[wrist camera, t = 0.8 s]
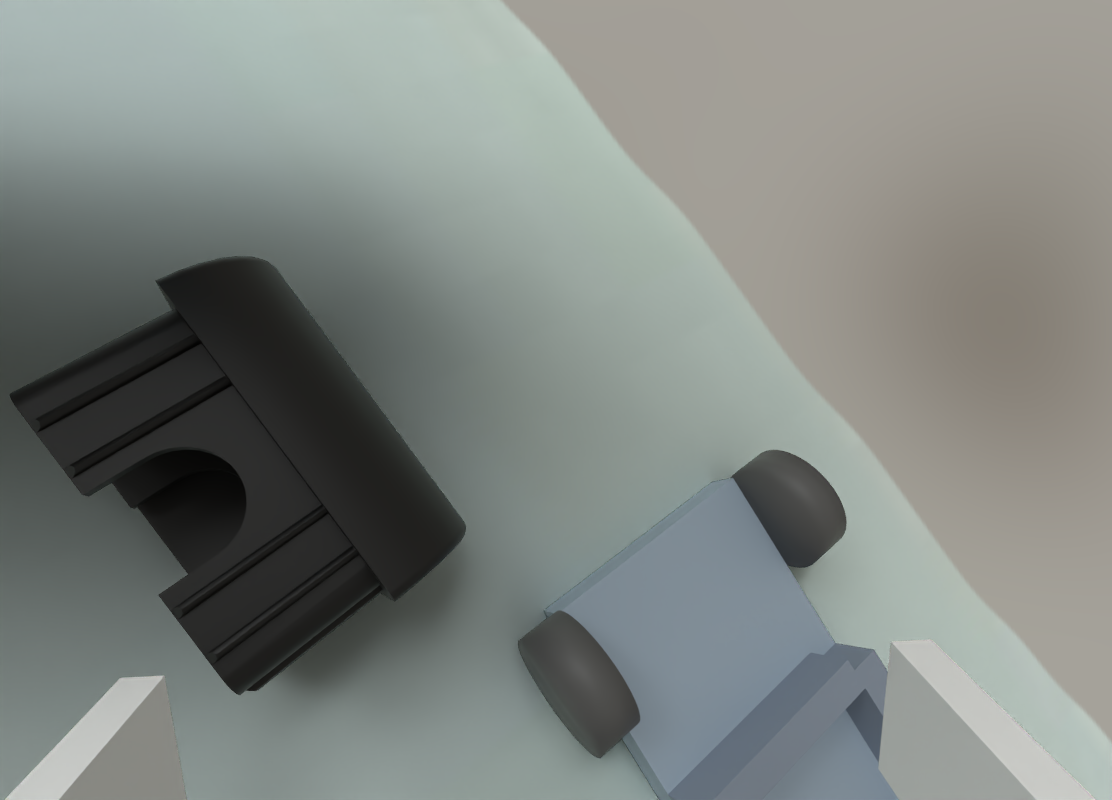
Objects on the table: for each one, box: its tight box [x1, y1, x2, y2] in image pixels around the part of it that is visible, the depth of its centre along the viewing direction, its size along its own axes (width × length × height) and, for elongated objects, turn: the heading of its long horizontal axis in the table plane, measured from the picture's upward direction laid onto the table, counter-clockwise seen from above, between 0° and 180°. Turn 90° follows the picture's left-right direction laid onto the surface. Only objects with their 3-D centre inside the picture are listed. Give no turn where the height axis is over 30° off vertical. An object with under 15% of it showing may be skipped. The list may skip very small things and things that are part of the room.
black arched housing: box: [10, 256, 466, 695], centre depth 19 cm, size 10×7×7 cm
